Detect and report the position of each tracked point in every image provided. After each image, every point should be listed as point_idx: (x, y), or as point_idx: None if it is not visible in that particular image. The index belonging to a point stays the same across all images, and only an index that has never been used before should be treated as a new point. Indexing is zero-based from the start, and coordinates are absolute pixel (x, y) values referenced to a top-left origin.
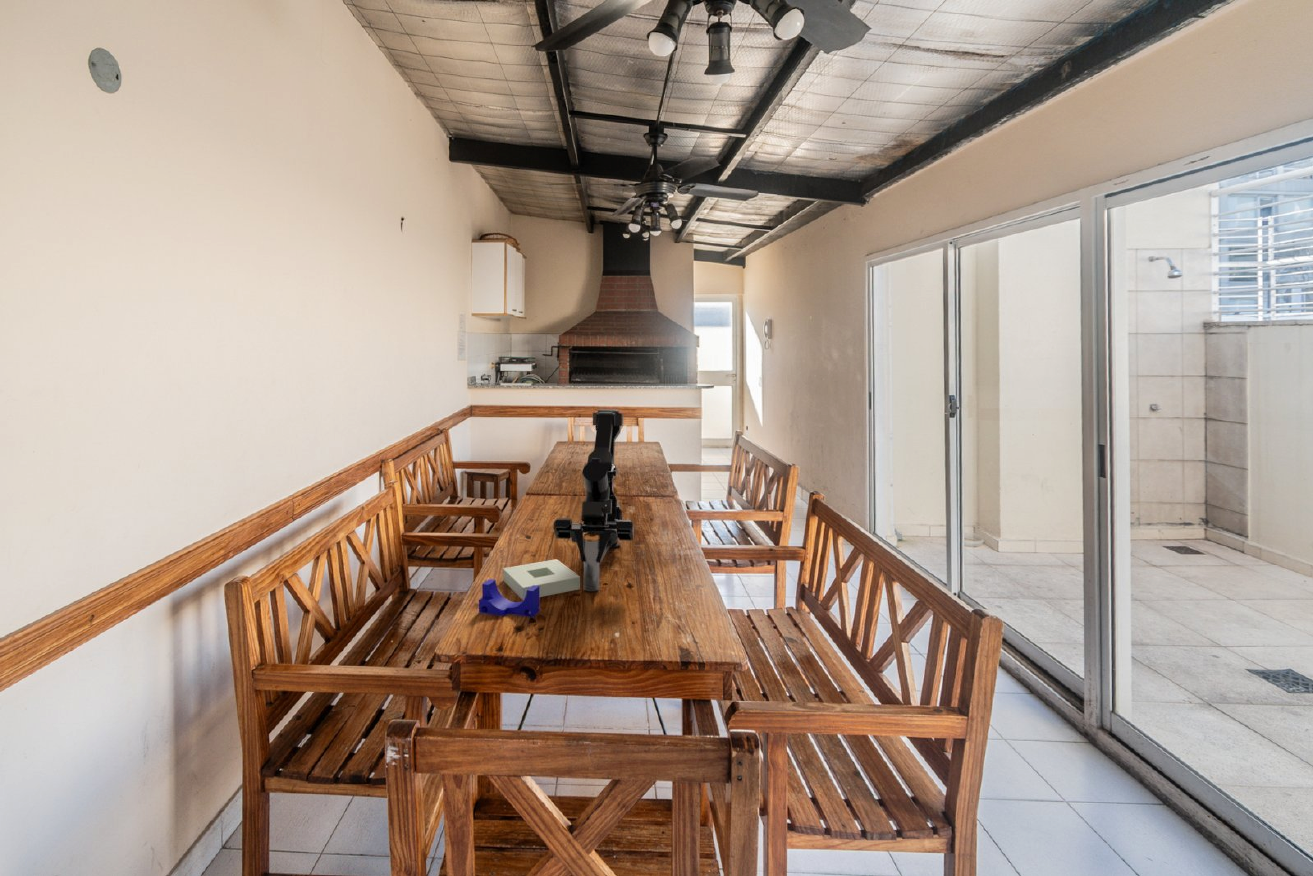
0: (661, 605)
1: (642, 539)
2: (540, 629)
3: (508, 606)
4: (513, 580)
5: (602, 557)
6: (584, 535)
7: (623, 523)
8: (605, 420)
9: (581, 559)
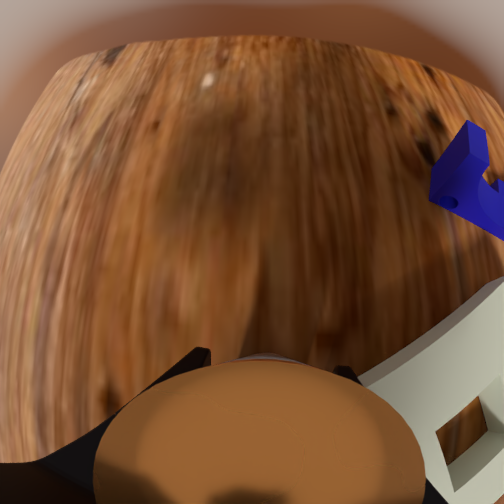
0: (56, 226)
1: None
2: (391, 109)
3: (500, 200)
4: None
5: None
6: (419, 482)
7: None
8: None
9: (350, 369)
